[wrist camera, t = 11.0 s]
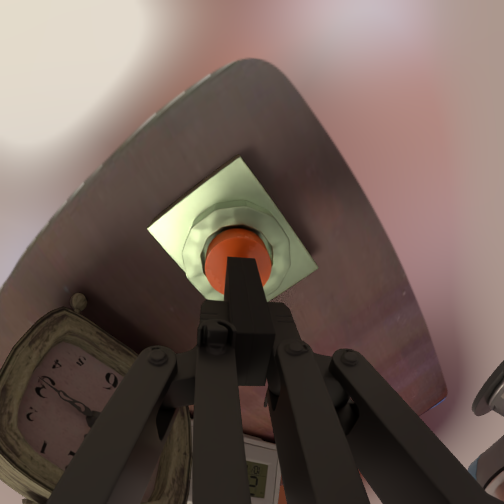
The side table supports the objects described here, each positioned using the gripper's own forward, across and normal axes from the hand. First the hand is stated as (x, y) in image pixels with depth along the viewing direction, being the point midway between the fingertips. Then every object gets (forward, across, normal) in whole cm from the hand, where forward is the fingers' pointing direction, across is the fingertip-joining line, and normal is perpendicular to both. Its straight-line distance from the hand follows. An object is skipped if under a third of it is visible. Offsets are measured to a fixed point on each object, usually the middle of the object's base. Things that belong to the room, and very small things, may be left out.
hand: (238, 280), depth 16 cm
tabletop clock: (+7, -11, -12) cm, 18 cm away
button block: (+7, 0, 0) cm, 7 cm away
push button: (+3, 0, 0) cm, 3 cm away
